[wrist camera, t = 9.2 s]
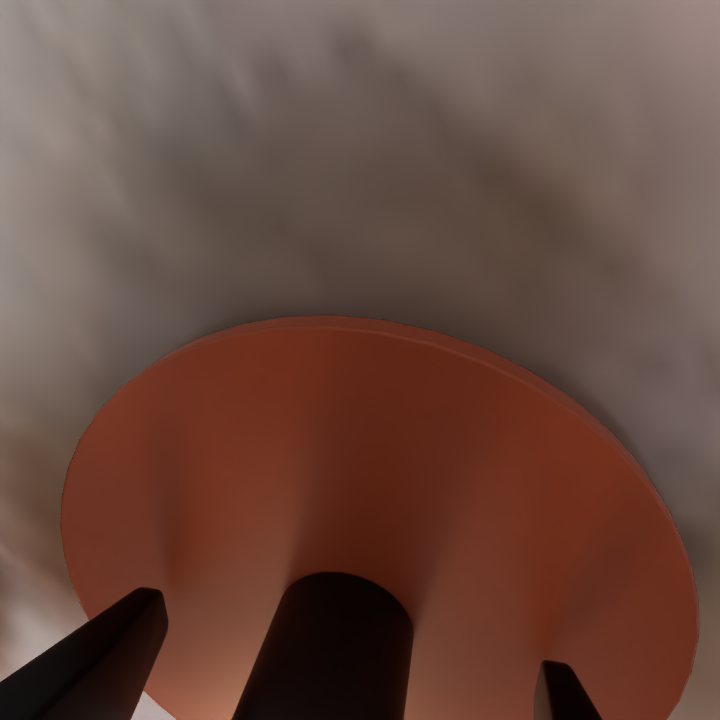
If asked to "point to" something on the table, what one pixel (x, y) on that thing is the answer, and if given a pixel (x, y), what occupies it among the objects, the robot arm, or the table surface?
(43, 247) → the table surface
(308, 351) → the lid
